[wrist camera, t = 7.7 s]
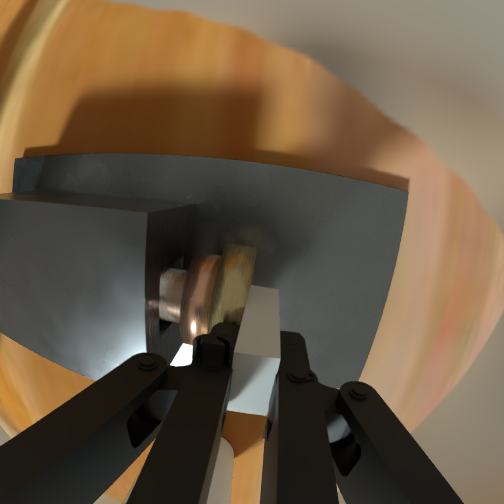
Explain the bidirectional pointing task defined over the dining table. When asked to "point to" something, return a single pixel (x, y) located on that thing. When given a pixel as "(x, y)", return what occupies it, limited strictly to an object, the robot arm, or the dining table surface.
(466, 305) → the dining table surface
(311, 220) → the bearing block
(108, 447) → the robot arm
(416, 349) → the dining table surface
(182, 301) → the shaft
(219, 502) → the candle holder
